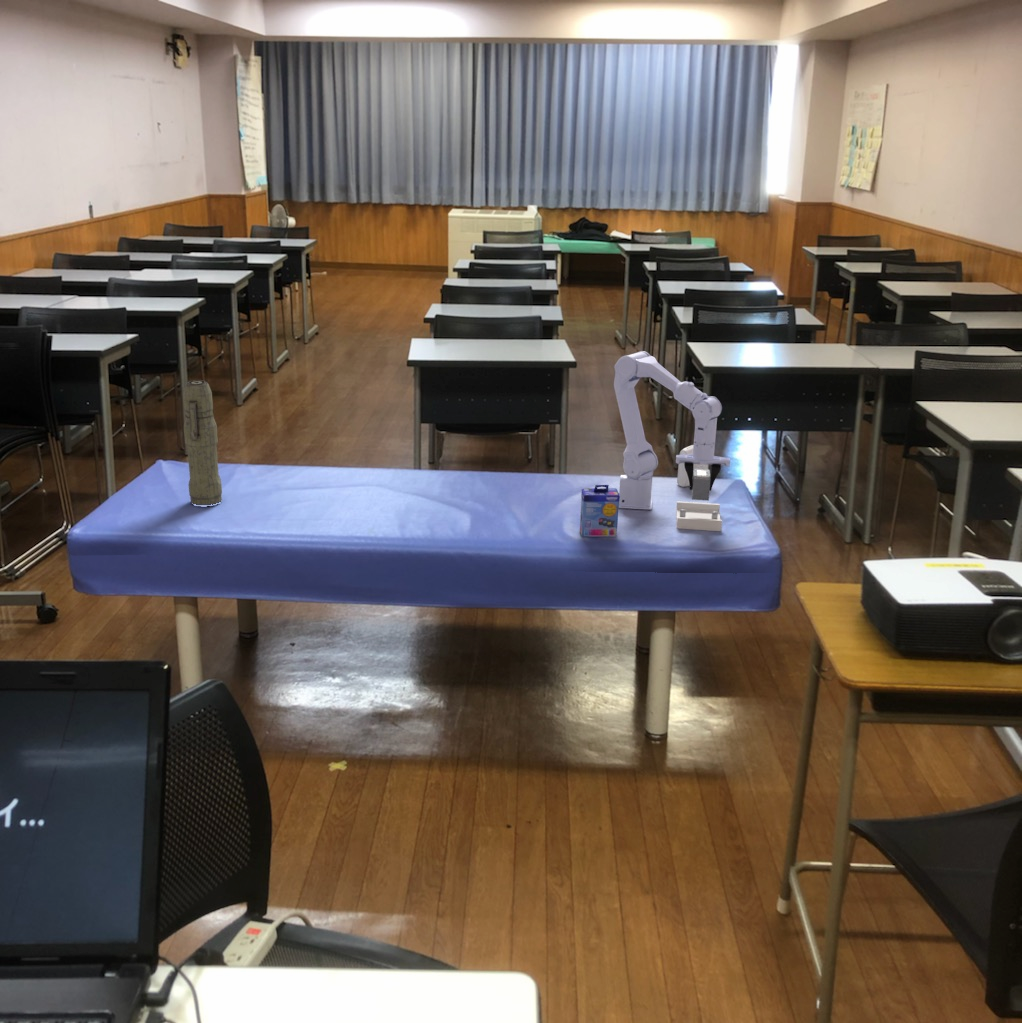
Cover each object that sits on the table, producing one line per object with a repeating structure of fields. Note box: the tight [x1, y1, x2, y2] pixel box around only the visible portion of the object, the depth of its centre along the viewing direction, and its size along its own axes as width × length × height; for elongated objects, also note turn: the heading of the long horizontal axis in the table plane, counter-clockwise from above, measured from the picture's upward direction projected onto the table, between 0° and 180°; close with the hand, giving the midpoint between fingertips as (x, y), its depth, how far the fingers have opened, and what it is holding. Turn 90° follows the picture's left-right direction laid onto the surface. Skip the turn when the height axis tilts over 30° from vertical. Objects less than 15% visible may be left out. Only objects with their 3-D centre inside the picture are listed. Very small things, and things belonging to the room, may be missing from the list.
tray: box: [675, 500, 723, 532], centre depth 301 cm, size 12×14×3 cm
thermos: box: [182, 379, 223, 505], centre depth 302 cm, size 9×12×35 cm
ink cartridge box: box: [579, 484, 620, 538], centre depth 288 cm, size 10×6×14 cm, turn 95°
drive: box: [691, 469, 711, 501], centre depth 297 cm, size 4×9×6 cm, turn 172°
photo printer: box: [676, 444, 709, 488], centre depth 330 cm, size 10×4×12 cm, turn 123°
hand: (700, 489), depth 298 cm, fingers closed on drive, 4 cm apart
